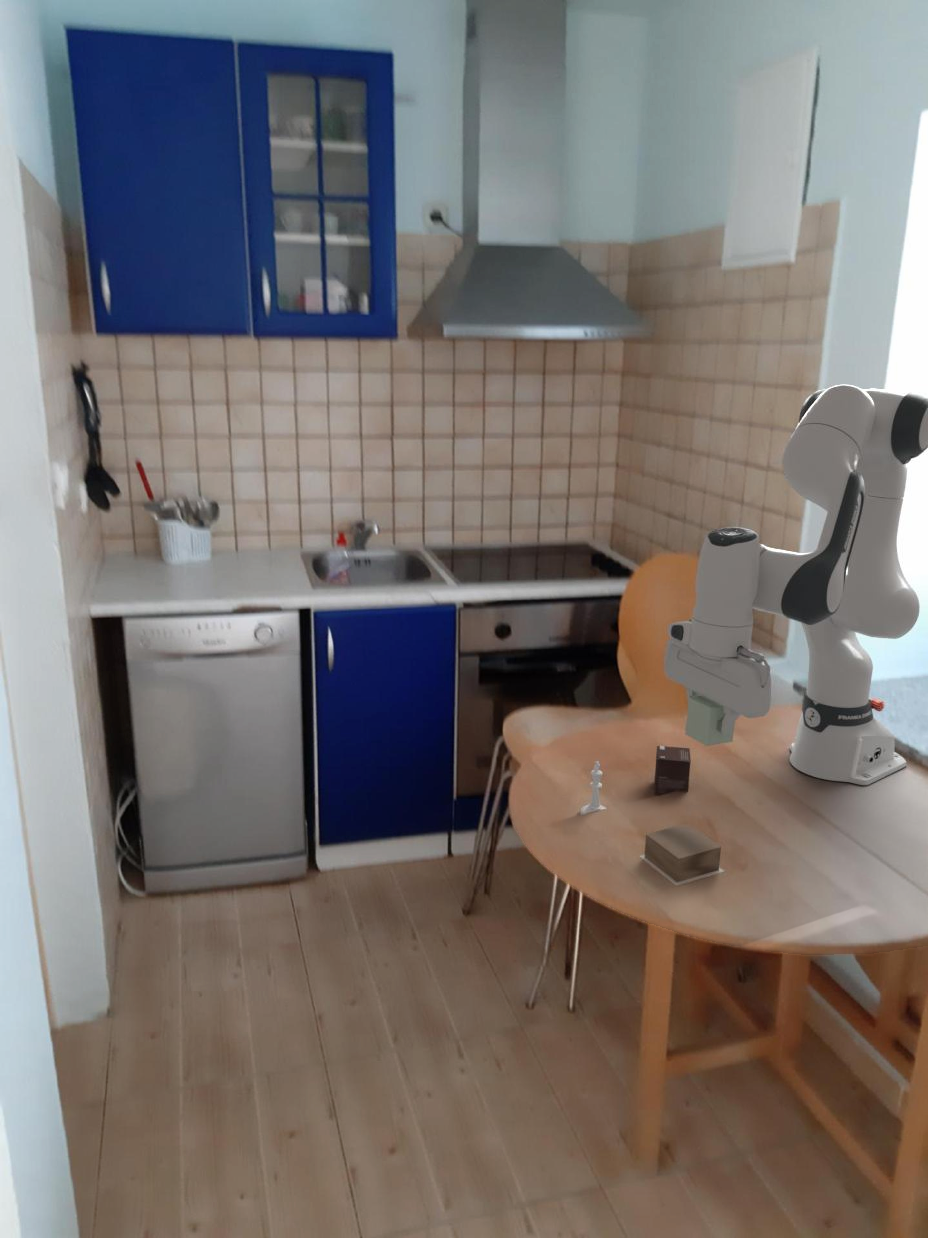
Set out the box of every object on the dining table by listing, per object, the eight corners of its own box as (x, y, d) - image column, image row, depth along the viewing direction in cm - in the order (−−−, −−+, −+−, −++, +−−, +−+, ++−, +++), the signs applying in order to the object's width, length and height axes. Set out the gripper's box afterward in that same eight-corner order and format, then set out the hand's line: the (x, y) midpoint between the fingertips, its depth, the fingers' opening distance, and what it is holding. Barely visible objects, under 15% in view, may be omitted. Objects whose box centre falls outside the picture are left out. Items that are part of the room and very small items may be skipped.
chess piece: (613, 812, 165) (616, 760, 162) (601, 824, 161) (604, 770, 158) (587, 805, 168) (590, 753, 165) (575, 816, 164) (577, 763, 161)
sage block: (710, 729, 148) (714, 693, 147) (732, 741, 144) (737, 704, 142) (685, 734, 146) (689, 697, 144) (706, 746, 142) (710, 708, 140)
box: (687, 799, 170) (691, 761, 168) (653, 795, 171) (656, 758, 169) (687, 784, 176) (690, 747, 174) (654, 781, 177) (656, 744, 175)
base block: (685, 845, 152) (687, 823, 151) (718, 870, 145) (721, 847, 144) (644, 857, 148) (646, 834, 147) (676, 882, 142) (678, 858, 140)
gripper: (787, 656, 133) (775, 747, 137) (693, 618, 151) (684, 700, 154) (753, 660, 130) (741, 753, 134) (661, 622, 148) (653, 705, 152)
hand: (710, 724), depth 144 cm, fingers closed on sage block, 5 cm apart
